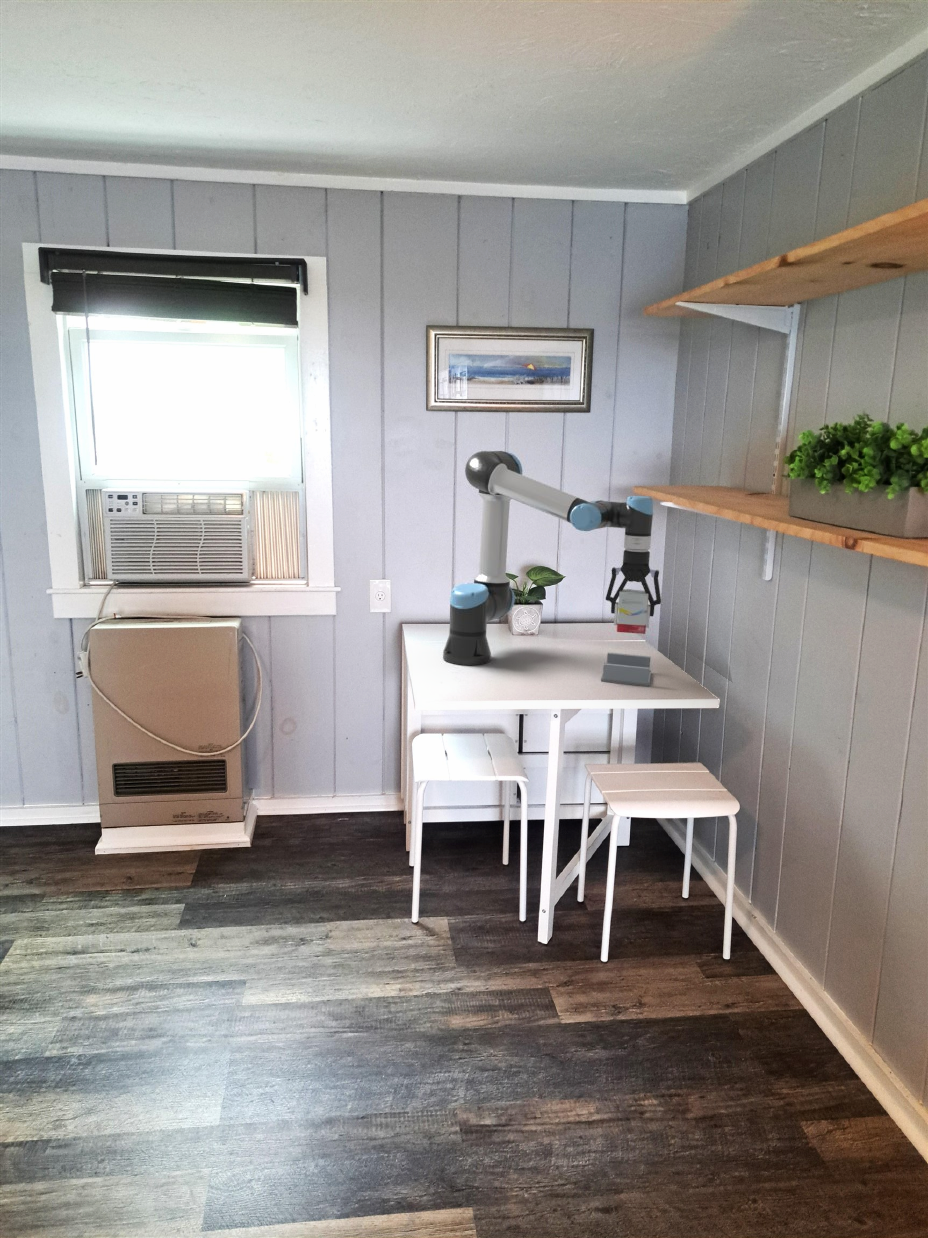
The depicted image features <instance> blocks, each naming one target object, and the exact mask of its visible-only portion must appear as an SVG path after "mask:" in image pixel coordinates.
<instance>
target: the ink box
mask: <svg viewBox="0 0 928 1238" xmlns="http://www.w3.org/2000/svg"><path fill="white" fill-rule="evenodd" d="M648 604H649V600H648V594H646V593H645V590H644V589H643V590H641V589H640V590H639V589H631V588H623V590H622V591H620V594H619V597H618V615H617V625H616V632H617V633H627V634H641V635H646V632H647V631H646V630H647V628H646V622H647V609H648Z"/></svg>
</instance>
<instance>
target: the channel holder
mask: <svg viewBox="0 0 928 1238" xmlns="http://www.w3.org/2000/svg"><path fill="white" fill-rule="evenodd" d="M606 654H607V655H606V663H605V662H604V664H603V668H602V669H603V672H602V674H601V678H600V682H605V683H614V684H623V685H632V686H643V687H650V684H651V675H652V670H651V669H650V667H651V658H652V657H651V656H649V655H641V654H640V655H639V654H629V653H617V652H607V653H606Z"/></svg>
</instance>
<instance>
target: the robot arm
mask: <svg viewBox="0 0 928 1238" xmlns="http://www.w3.org/2000/svg"><path fill="white" fill-rule="evenodd" d="M464 472H465V478H466V480H467V481H468V484H470V485H471V486H472V487H473V488H475V489H477V490H478V495H479V496H480V497H481V499H482V511H481V512H482V514H481V515H482V516H481V531H480V532H481V533H480V552H479V573H478V574H477V575H475V576H474V577H473V582H470V583H469V582H468V583H462V584H458V585H456V586H454V587H452V590H451V592H450V598H449V605H450V607H449V633H448V634H449V635H448V638H447V640H446V642H445V643H446V644H445V646H444V649H443V652H442V659H443V660H444V661H445V662H447V663H449V664H450V663H451V664H455V665H462V666H478V665H483V664H488V663H489V662H491V660H492V659H491V658H492V652H491V649H490V645H489V642H488V638H487V628H488V627H487V625H488V624H487V623H488V622H491V621H495V620H499V619H501V618H503V617H505V616H506V615H508V614H509V613H510V612H511V611H512V610H513V608H514V605H515V600H516V598H515V597H516V596H515V593H514V590H513V589H512V587H511V586H510V583H511V579H510V578H509V577H508V576H507V573H506V571H507V553H508V539H509V538H508V537H509V523H510V521H509V520H510V505H511V504H510V503H511V500H513V501H516V502H519V503H521V504H523V505H525V506H529V507H530V508H533V509H535V510H538V511H541V512H543V513H546V514H548V515H550V516H552V517H555V518H557V519H559V520H561V521H564V522H567V523H570V524H571V525H572V527H573V528H574V529H575V530H578V531H581V532H590V531H594V530H597V529H603V528H616V529H617V528H618V529H624V542H623V543H624V544H623V548H624V550H623V555H622V556H623V557H622V564H621V567H620V566H619V567H615V566H613V567H612V568H611V579H610V582H609V584H608V589H607V591H606V596H605V601H607V602H610V603H611V606H610V614H613V615H614V618H613V619H614V620H613V626H617V615H618V603H619V601H618V600H619V594H620V591H622V590H623V589H625V587H626V585H627V583H628V582H631V583H632V582H633V583H634V582H636V583H641V585H642V587H643V591H645V593H646V594H648V609H647V621H646V629H649V628H650V617H654V615H655V607H656V605H661V602H662V596H661V591H660V590H661V589H660V584H659V583H660V582H659V574H660V570H659V569H651V568H650V557H651V554H650V553H651V552H650V551H649V550H650V549H651V543H652V526H653V520H654V519H653V518H654V500H653V498H652V497H650V496H644V495H640V496H639V495H630V496H628V497H627V499H626V501H625V502H624V501H623V502H620V501H608V500H600V499H599V500H590V501H588V500H585V499H583V498H580V497H577V496H575V495H573V494H571V493H568V492H566V491H562V490H560V489H558V488H555V487H552V486H551V485H548V484H546V483H542V482H540V481H538V480H535V479H533V478H530V477H529V476H525V475H523V466H522V463H521V461H520V460H519V458H518V457H517V456H516V455H515V454H513V453H511V452H509V451H503V450H493V451H492V450H484V451H483V450H481V451H478V452H477V451H476V453H473V454H472V455H471V456H470V457H468V460H467V462H466V464H465V468H464ZM620 572H621V573H622V575H623V576H624V578H623V580H622V582H621V584H620V585H619V587H618V589H617V590H616V591H615V593H614V595H613V596H612V593H613V589H614V586H615V582H616V579H617V576H618V575H619V574H620ZM649 574H651V577H652V578H653V587H654V591H655V592H654V593H655V599H654V597H653V595H652V592H651V590H650V587H649V585H648V582H647V579H646V578H647V576H648V575H649Z"/></svg>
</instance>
